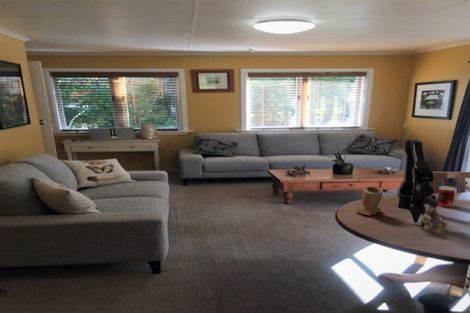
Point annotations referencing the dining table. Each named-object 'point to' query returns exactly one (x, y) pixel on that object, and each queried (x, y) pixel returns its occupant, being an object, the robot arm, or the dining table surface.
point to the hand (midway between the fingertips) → (415, 219)
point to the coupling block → (413, 220)
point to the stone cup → (370, 201)
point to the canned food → (446, 196)
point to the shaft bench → (427, 224)
